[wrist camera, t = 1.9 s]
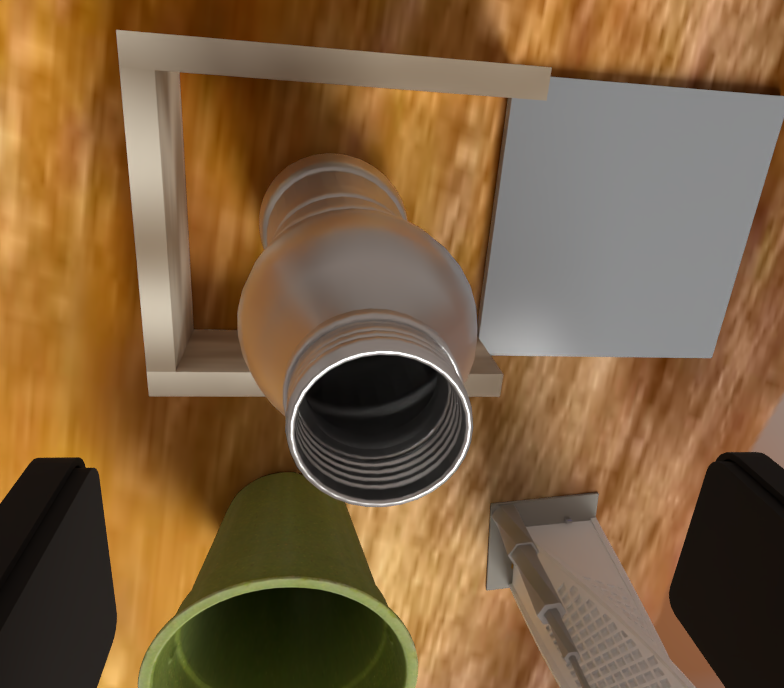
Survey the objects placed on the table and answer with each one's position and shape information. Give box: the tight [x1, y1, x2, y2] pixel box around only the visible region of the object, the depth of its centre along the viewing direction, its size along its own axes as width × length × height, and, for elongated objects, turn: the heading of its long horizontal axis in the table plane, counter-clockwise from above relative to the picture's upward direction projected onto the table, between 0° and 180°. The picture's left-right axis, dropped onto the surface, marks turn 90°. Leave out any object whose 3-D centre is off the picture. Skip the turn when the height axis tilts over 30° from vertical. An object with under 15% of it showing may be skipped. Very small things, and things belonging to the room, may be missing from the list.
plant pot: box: [138, 472, 418, 688], centre depth 32 cm, size 12×12×11 cm
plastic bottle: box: [237, 153, 477, 507], centre depth 21 cm, size 6×7×20 cm
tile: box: [477, 77, 784, 358], centre depth 32 cm, size 14×14×1 cm
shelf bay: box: [116, 30, 552, 397], centre depth 28 cm, size 14×16×5 cm
